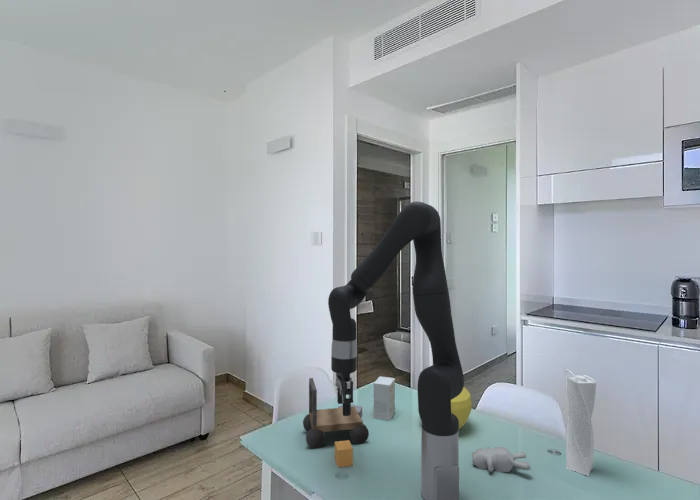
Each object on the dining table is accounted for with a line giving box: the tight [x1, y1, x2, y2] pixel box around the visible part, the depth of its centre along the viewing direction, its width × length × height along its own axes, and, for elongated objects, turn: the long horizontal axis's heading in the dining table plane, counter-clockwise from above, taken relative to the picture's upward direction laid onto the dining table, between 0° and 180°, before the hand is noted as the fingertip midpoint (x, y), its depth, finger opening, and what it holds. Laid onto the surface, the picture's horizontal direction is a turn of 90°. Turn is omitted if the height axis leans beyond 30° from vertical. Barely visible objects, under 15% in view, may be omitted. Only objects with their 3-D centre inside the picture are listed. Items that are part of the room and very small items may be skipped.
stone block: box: [337, 404, 363, 417], centre depth 143 cm, size 12×5×10 cm
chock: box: [334, 439, 354, 468], centre depth 115 cm, size 5×4×5 cm
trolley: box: [302, 377, 370, 449], centre depth 129 cm, size 20×12×18 cm, turn 102°
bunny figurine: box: [471, 446, 531, 473], centre depth 112 cm, size 10×5×15 cm
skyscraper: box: [564, 368, 597, 478], centre depth 112 cm, size 8×8×28 cm
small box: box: [373, 376, 396, 421], centre depth 147 cm, size 8×6×13 cm
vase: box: [451, 386, 473, 430], centre depth 137 cm, size 18×18×30 cm
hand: (343, 409), depth 115 cm, fingers open, 8 cm apart
